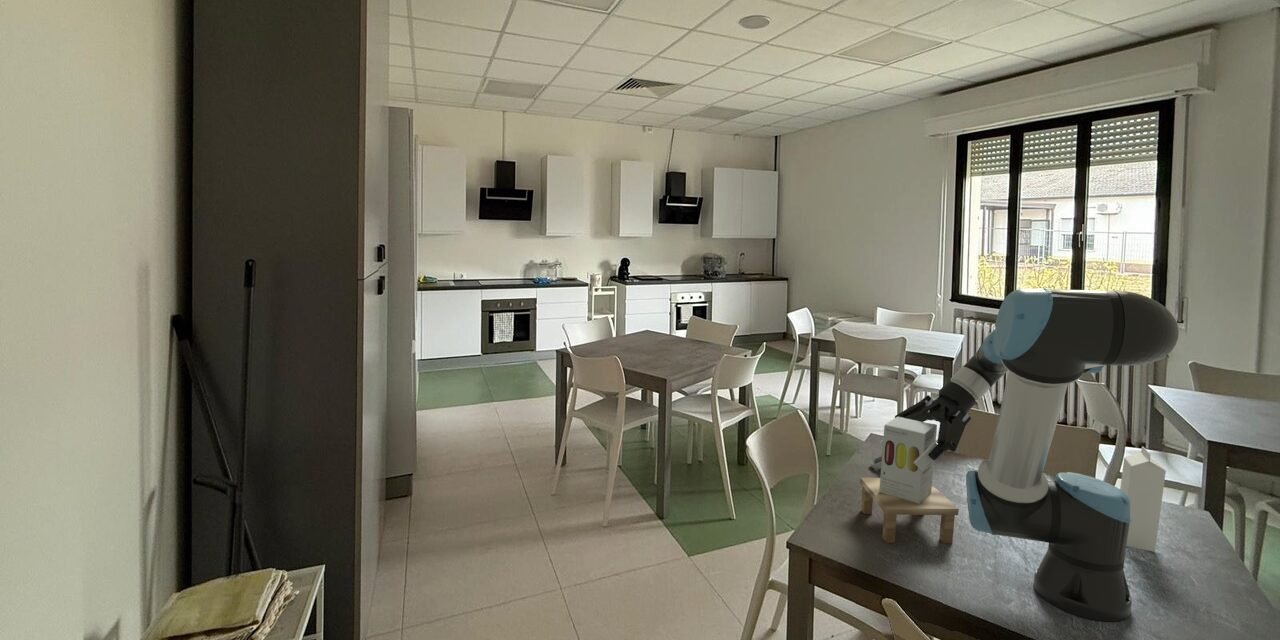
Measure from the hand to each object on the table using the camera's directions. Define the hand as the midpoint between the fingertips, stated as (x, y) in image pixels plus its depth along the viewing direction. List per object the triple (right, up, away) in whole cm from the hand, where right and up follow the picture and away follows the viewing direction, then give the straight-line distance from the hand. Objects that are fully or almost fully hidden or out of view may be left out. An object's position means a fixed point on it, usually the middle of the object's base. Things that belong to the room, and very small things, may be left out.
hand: (900, 455), depth 141 cm
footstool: (+2, -17, +3) cm, 18 cm away
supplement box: (+2, -9, +2) cm, 10 cm away
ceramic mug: (+13, -13, +37) cm, 42 cm away
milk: (+51, -19, -5) cm, 55 cm away
